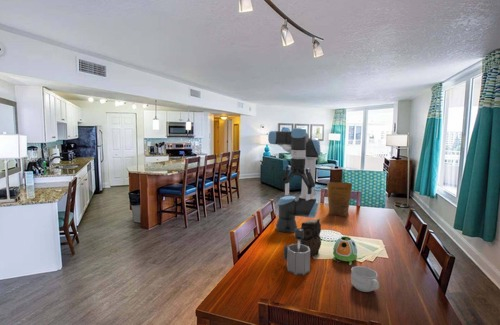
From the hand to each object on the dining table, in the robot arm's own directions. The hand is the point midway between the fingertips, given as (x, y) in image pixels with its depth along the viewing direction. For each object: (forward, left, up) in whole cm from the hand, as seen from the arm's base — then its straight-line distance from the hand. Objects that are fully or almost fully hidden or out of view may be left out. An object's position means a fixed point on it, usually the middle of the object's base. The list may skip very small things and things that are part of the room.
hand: (297, 197), depth 146 cm
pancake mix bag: (-24, +89, -34) cm, 98 cm away
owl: (0, +11, -34) cm, 36 cm away
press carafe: (+7, -9, -34) cm, 36 cm away
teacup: (+39, -2, -34) cm, 52 cm away
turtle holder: (+18, +20, -34) cm, 44 cm away
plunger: (+8, -9, -33) cm, 35 cm away
